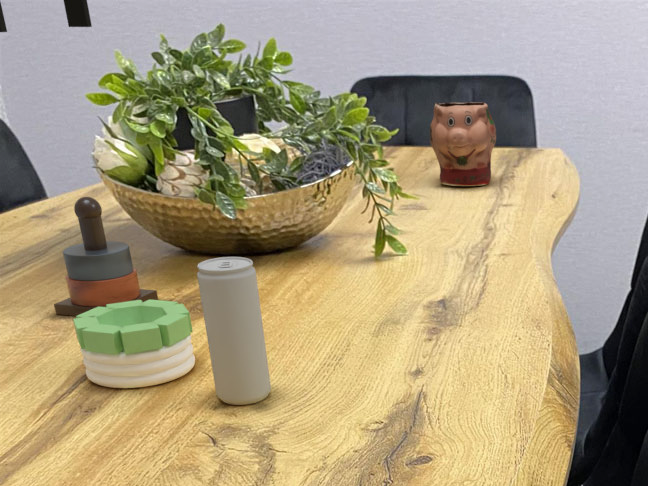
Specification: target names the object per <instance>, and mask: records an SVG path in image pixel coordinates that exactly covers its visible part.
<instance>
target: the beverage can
mask: <svg viewBox="0 0 648 486" xmlns="http://www.w3.org/2000/svg"><path fill="white" fill-rule="evenodd" d="M253 265H254V262H253V260H252V259H250V258H247V257H242V256H222V257H215V258H209V259H206V260H202V261H200V262H198V264H197V270H198V271H197V273H196V277H197V283H198V288H199V295H200V301H201V308H202V313H203V319H204V326H205V333H206V339H207V345H208V351H209V357H210V364H211V369H212V370H211V371H212V376H213V382H214V388H215V393H216V394H215V395H216V397H218V399H220V400H221V401H222V402H223V403H225V404H227V405H232V406H233V405H234V406H245V405H252V404H255V403H259V402H262V401H263V400H265V399H266V398H267V397H268V396H269V394H270V392H271V390H272V385H271V377H270V369H269V362H268V354H267V348H266V340H265V332H264V326H263V325H264V324H263V315H262V308H261V300H260V294H259V285H258V279H257V278H258V277H257V271H256V268H255V267H254V266H253Z"/></svg>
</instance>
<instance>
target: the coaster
mask: <svg viewBox="0 0 648 486" xmlns="http://www.w3.org/2000/svg"><path fill="white" fill-rule="evenodd" d="M79 351H80V353H81V354H82V357H83V358H82V363H83V365H84V367H85V375H86V377H87V378H88V380H89V381H90V382H92V383H94V384H95V385H98V386H101V387H105V388H112V389H113V388H114V389H135V388H145V387H152V386H157V385H162V384H164V383H168V382H171V381H174V380H177V379H179V378H181V377H183V376H185V375H187V374H188V373H189V372H191V370H192V369H193V368H194V367H195V363H196V357H195V355H194V346H193V344H192V334H191V335H190V336H188V337H186V338H184V339H182V340H180V341H179V342H177V343H175V344H173V345H171V346H168V345H163V348H161V349H154V350H148V351H142V352H135V353H129V354H125V352H124V351H122V352H120V353H118V354H109V353H100V352H91V351H86V349H81V348H80V350H79Z"/></svg>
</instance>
